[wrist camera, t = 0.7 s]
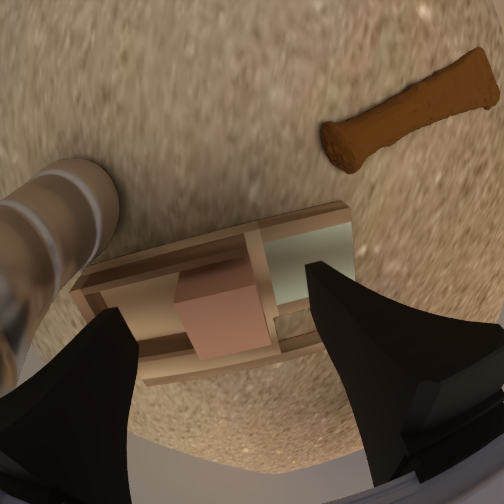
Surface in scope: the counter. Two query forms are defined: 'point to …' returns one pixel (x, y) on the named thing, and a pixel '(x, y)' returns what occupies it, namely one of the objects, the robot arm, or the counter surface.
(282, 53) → the counter surface
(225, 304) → the block
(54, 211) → the plastic bottle
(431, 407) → the robot arm
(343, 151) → the primitive tool
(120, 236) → the counter surface
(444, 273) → the counter surface
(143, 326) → the board
